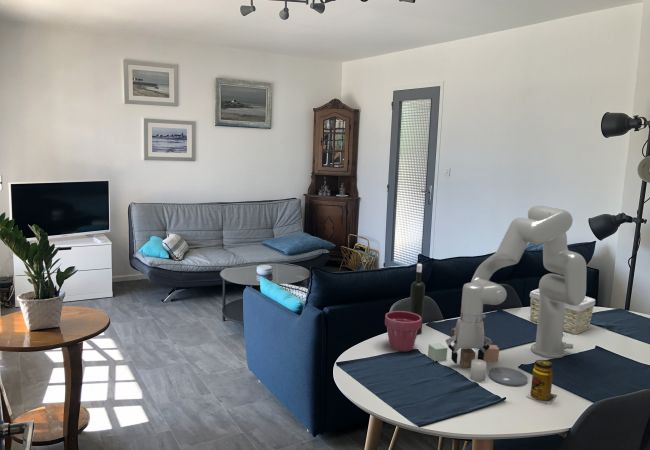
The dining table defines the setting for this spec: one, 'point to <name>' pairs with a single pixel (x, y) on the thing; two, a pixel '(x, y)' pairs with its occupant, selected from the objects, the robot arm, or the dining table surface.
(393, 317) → the plant pot
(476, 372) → the grey cylinder
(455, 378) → the dining table surface
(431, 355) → the sage cube
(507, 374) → the slate coaster
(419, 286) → the wine bottle
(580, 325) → the storage basket
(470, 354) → the walnut block
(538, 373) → the condiment
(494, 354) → the terracotta brick
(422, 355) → the dining table surface
